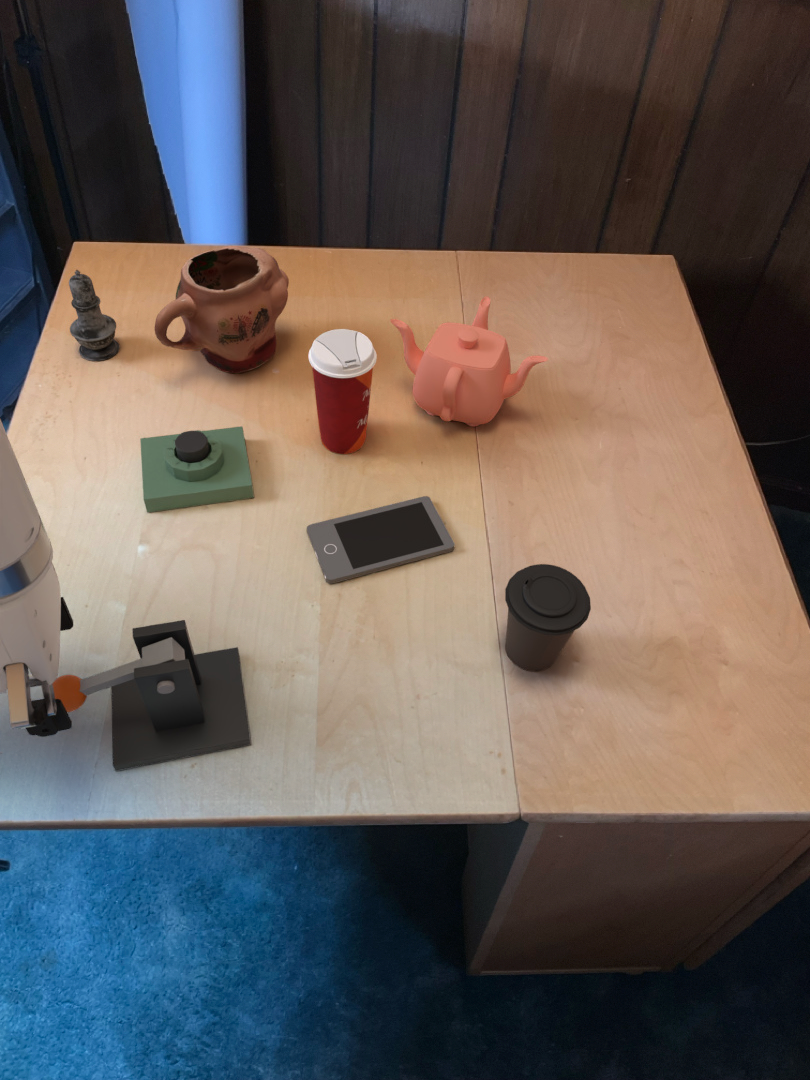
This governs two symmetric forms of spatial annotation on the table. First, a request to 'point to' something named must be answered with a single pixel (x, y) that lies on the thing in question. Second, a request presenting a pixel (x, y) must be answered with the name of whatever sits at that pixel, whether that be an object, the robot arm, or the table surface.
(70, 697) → the switch lever
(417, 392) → the teapot
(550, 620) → the coffee cup
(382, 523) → the smartphone
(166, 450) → the control block
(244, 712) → the lever base
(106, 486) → the table surface
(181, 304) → the decorative planter
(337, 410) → the paper cup
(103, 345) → the salt shaker
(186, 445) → the button
